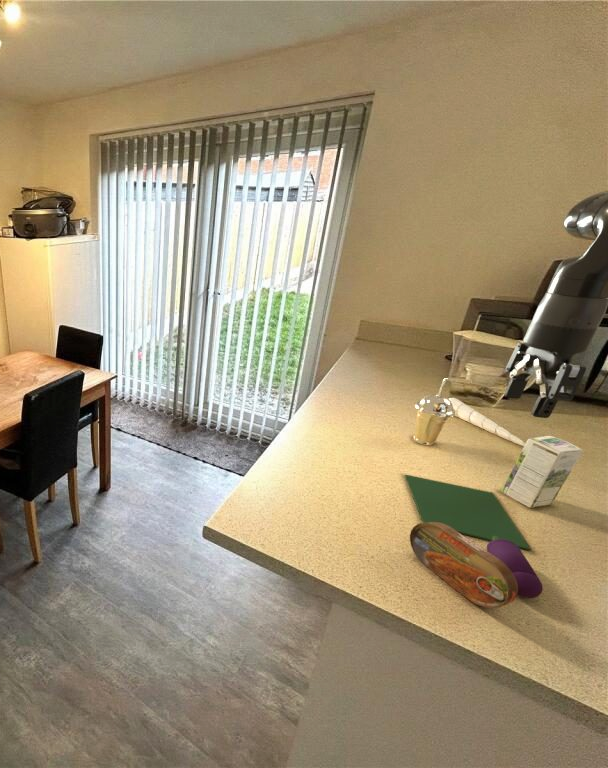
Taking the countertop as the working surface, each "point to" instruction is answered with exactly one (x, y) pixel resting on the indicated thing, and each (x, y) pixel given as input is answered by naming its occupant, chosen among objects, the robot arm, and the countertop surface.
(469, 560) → the tin
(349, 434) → the countertop surface
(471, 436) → the countertop surface
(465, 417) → the unicorn horn
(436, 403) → the cup with straw
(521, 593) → the eggplant
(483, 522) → the cloth
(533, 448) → the syrup box
